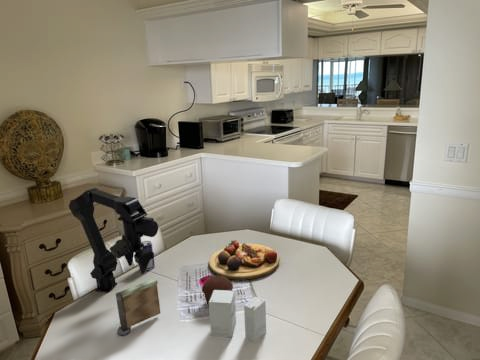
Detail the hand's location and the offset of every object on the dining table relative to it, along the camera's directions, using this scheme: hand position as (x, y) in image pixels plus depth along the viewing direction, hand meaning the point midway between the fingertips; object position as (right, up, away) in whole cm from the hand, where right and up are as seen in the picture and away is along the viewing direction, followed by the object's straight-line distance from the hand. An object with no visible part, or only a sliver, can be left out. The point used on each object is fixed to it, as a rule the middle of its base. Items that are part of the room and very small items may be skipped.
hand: (136, 269), depth 137 cm
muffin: (+31, -12, -3) cm, 34 cm away
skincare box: (+45, -16, -21) cm, 52 cm away
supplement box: (+34, -16, -17) cm, 41 cm away
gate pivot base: (+1, -17, -16) cm, 23 cm away
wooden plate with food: (+41, -4, +26) cm, 49 cm away
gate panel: (+5, -14, -13) cm, 20 cm away
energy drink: (-2, -6, +26) cm, 26 cm away
